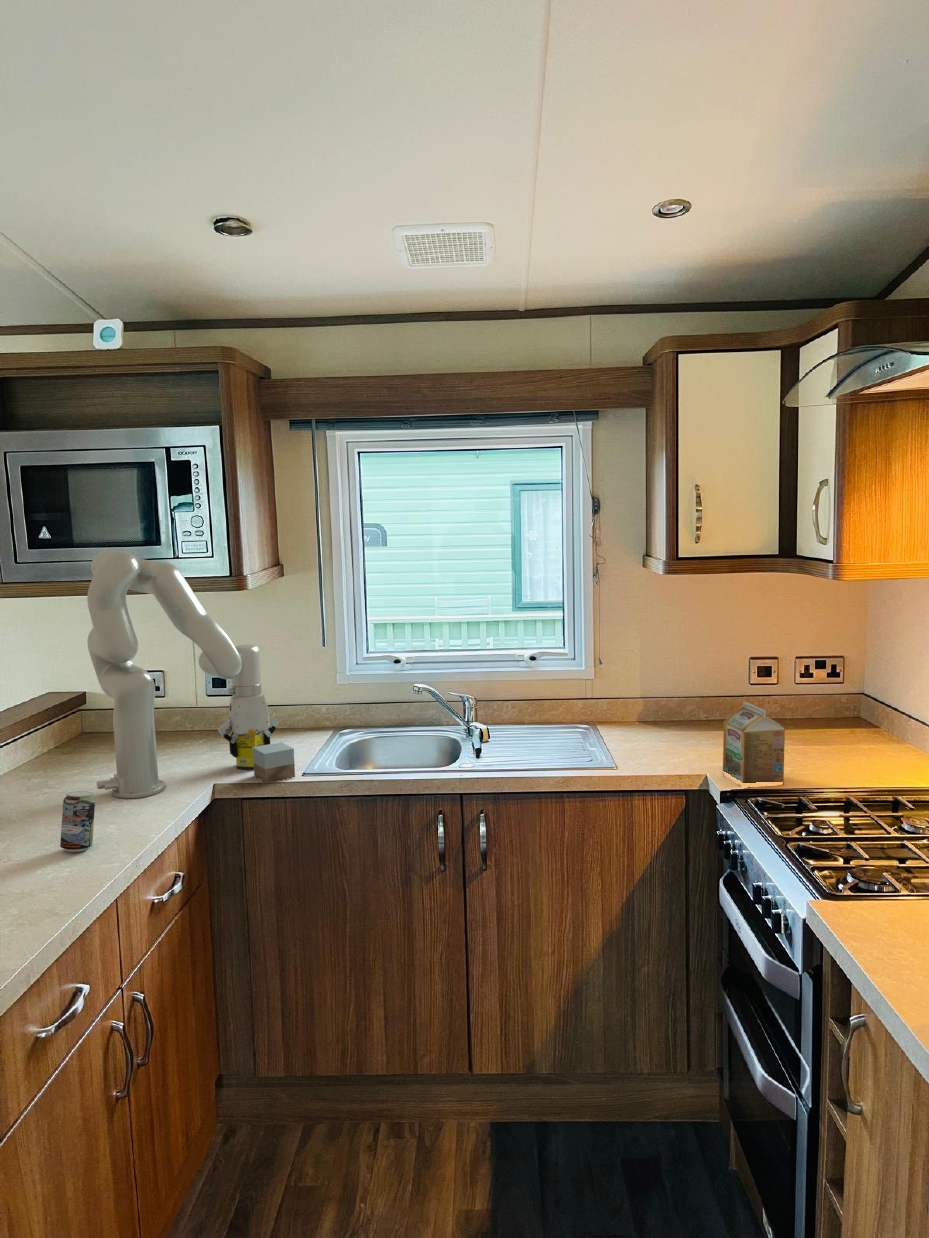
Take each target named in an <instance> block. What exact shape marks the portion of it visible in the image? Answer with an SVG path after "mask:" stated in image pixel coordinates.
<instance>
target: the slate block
mask: <svg viewBox="0 0 929 1238" xmlns="http://www.w3.org/2000/svg"><path fill="white" fill-rule="evenodd" d="M253 762H254V763H256V764H257V765H259V766H261V767H262V768H264V769H269V768H274V767H279V766H284V765H289V764H294V765H295V748H293V746H290V745H288V744H286V743H284V742H282V741H280V742H276V743H274V742H273V743H270V744H268V745H263V746H257V747H253Z"/></svg>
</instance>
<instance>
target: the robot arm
mask: <svg viewBox="0 0 929 1238" xmlns="http://www.w3.org/2000/svg"><path fill="white" fill-rule="evenodd" d="M90 570H91V573H92V576H93V577H92V579H91V581H90V583H89V587H88V589H87V597H86V599H87V608H88V612H89V615H90V620H91V624H92V629H91V630H90V631H89V634H88V637H87V649H88V653H89V656H90V659H91V662H92V667H93V669H94V672H95V675H96V678H97V681H98V683H99V685H100V688H101V690H102V691H103V692H104V694H105V695H106V696H108V697H109V698H111V699H113V711H112V712H113V713H112V725H113V727H112V728H113V735H114V737H113V739H114V749H115V750H114V751H115V763H116V765H115V766H116V773H113V777H110V778H109V779H107V780H105V779H104V780H99V781H96V789H97V790H102V789H104V790H105V791H106V790H111V796H113V797H115V798H119V799H138V798H139V799H140V798H144V797H149V796H153V795H157V794H158V793H160V792H162V791H164V790H165V788H166V782H165V781H164V780H162V779H160V778H159V770H158V756H157V755H158V753H157V752H158V751H157V737H156V727H155V700H156V699H155V697H156V685H155V681H154V679H153V676H152V675H151V674H150V673H149V672H148V671H147V670H146V669H144V668H142V667H140V666H137V665H136V664H135V663H134V660H133V659H134V658H135V657H136V655H137V653H138V650H139V642H138V641H139V640H138V638H137V634H136V632H135V629H134V626H133V623H132V620H131V615H130V612H129V609H128V604H127V593H128V590H129V591H134V592H139V593H145V594H150V595H153V597H155V599H156V601H157V602H158V604H159V605H160V607H161V608H162V609H163V611H164V613H165V614H166V615H167V617H168V619H169V620H170V621H171V623H172V625H173V626H174V627H175V628H176V630H178V631H179V632H180V633H181V634H182V635H184V636H185V637H186V638H188V639H189V640H190V641H192V642H193V643H194V644H195V645H196V646H197V647H198V648H199V649H200V650H201V651H202V652H201V653H200V654H199V656H198V665H199V668H200V670H202V671H203V672H204V673H205V674H207V675H210V676H214V677H217V678H220V679H223V680H231V684H232V685H231V687H230V688H227V694H228V695H230V694H231V695H232V696H231V697H230V700H229V711H228V720H226V721H225V722H224V723H223V724H222V725H220V726H219V727H218V728H217V731H218V732H219V734H220V735H221V736H222V738H224V739H225V740H226V741H228V742H229V744H228V745H229V753H230V755H231V756H232V757H233V758H235V759H236V757H238V748H237V743H236V739H237V737H238V736H239V735H244V734H247V733H248V731H249V730H254V729H258V732H262V731H263V732H264V745H268V744H271V737H272V735H273V733H274V732H275V731H276V728H278V727H277V726H278V725H279V723H280V719H278V718H276V717H274V716H272V715H270V714H269V707H268V702H267V697H266V694H265V693H263V692H262V677H261V676H262V675H261V659H260V657H261V656H260V648H259V647H258V646H257V645H255V644H239V645H234V643H233V642H232V640H231V638H230V636H229V635H227V633H226V632H225V630H223V628H222V627H221V626H220V625H219V624H218V623H217V622H216V621H215V619H214V618H213V617H212V616H211V614H209V613H208V612H207V610H206V609H205V607H204V606H203V605H202V604H201V602H200V600H199V599H198V596H197V595H196V593H195V592H194V591H193V589H192V588H191V586H190V584H189V583H188V582H187V579H186V578H185V577H184V575H183V574H182V572H181V571H180V570H179V568H178V567H177V566H175V565H174V564H172V563H169V562H162V561H153V560H148V559H143V558H140V557H136V556H135V555H134V554H132V553H130V552H128V551H124V550H116V549H115V550H112V549H110V550H109V549H108V550H102V551H101V552H99V553H97V554H96V555H95V556H94V557H93V559H92V561H91V564H90ZM270 721H271V723H270ZM228 728H229V731H230V733H229V734H228V733H227V729H228Z"/></svg>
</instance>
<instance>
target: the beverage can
mask: <svg viewBox="0 0 929 1238" xmlns="http://www.w3.org/2000/svg"><path fill="white" fill-rule="evenodd" d="M93 794H94V793H93V792H92V791H87V790H74V791H69V792H67V793H66V796H65V797H64V799H63V800H62V815H61V827H60V829H61V831H60V845H59V846H60V848H61V849H63V850H64V851H65V852H73V853H76V852H77V853H78V852H83V851H87V850H88V849H89V848H91V847H92V846H93V839H94V826H95V808H96V807H95V806H96V798H95V797H94V795H93Z"/></svg>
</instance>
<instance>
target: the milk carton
mask: <svg viewBox="0 0 929 1238" xmlns="http://www.w3.org/2000/svg"><path fill="white" fill-rule="evenodd" d="M785 734H786V729H785V728H784V727H783V726H782V725H781V724H780V723H778V722H777V721H775V720H773V719H772V718H769V717H768V716H766V710H765V709H763V708H760V707H758V706H756V705H754V704H751V703H749V702H746V701H743V702H742V707H740V708H738V709H737V710H735V711H734V712H733V713H731V714H730V715H729V716H727V718H726V719H725V720H723V742H722V744H723V745H722V749H723V751H722V772H723V771H724V772H726V773H728V774H730V775H731V776H732V777H734V778H736V779H737V780H740V781H741V782H742V783H756V782H783V781H785V780H784V777H785V776H784V775H785V774H784V773H785V772H784V771H785V770H784V769H785V738H786V735H785ZM783 783H784V782H783Z"/></svg>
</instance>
